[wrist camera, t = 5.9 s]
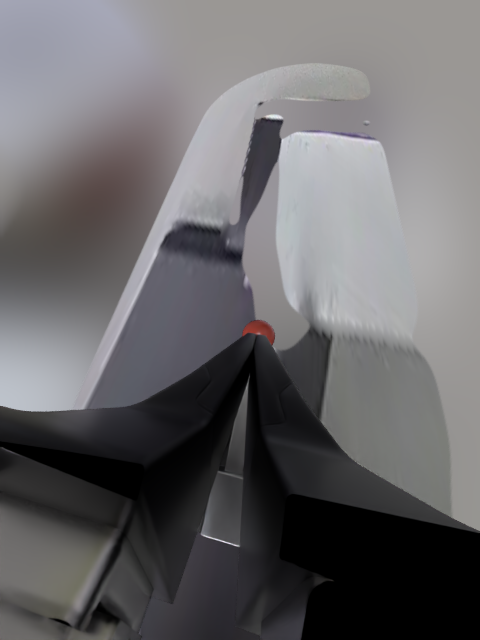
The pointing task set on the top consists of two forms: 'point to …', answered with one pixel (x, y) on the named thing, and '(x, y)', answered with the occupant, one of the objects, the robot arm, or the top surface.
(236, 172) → the top surface
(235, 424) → the lever
